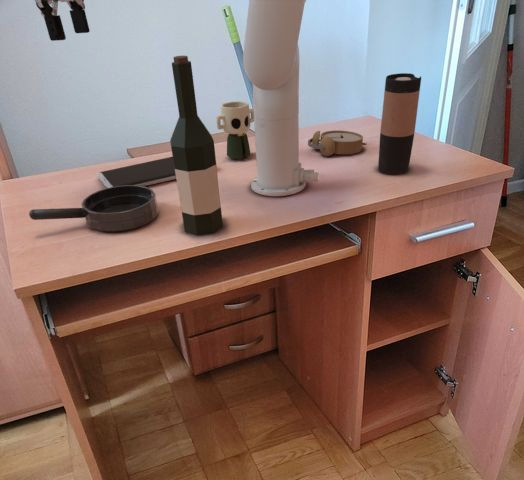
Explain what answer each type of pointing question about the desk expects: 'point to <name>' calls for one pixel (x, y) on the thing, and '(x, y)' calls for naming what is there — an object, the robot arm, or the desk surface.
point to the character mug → (236, 127)
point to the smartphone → (140, 173)
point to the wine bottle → (194, 158)
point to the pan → (120, 208)
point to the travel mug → (398, 122)
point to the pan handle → (56, 213)
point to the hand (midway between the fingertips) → (70, 36)
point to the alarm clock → (337, 142)
